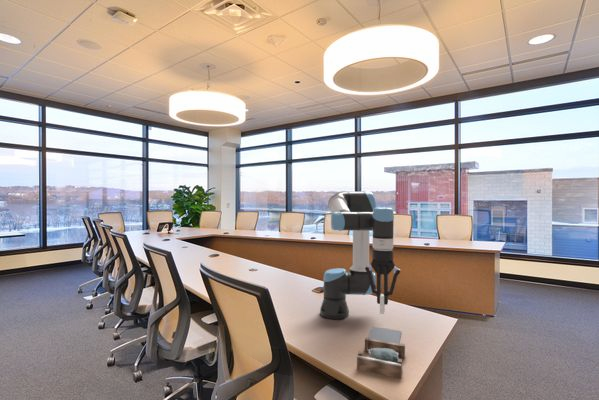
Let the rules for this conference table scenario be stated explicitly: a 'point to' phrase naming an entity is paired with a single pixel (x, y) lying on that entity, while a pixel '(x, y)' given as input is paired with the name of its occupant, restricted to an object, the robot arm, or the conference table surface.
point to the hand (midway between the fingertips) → (382, 312)
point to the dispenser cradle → (381, 365)
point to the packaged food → (384, 354)
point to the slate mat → (385, 335)
